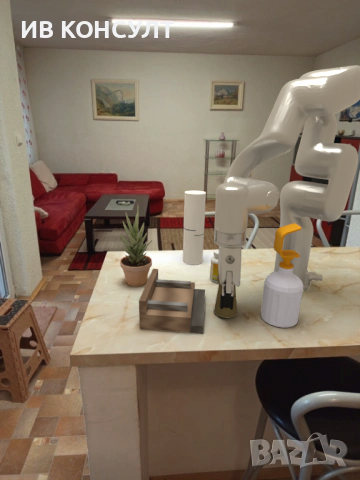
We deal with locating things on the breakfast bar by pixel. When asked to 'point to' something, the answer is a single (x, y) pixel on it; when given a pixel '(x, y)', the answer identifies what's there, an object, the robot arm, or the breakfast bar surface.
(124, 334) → the breakfast bar surface
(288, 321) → the soap bottle
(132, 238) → the potted plant
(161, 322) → the loading dock
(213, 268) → the supplement bottle
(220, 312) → the olive rounded upright piece
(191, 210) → the cylindrical container
